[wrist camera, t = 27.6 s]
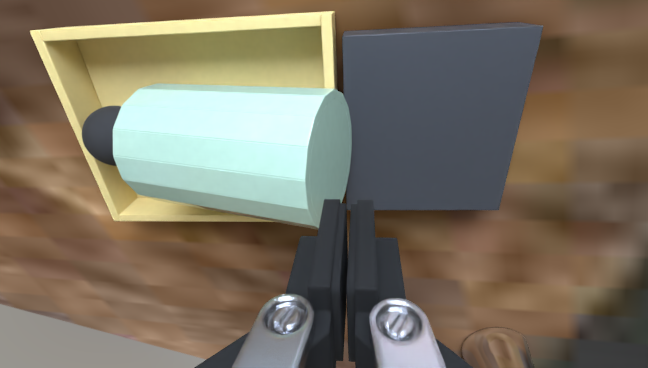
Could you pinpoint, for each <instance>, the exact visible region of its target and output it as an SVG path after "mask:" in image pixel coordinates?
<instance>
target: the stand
mask: <svg viewBox="0 0 648 368" xmlns="http://www.w3.org/2000/svg"><path fill="white" fill-rule="evenodd" d="M542 29H543V26H541V25H534V24H527V23H520V22H509V23H490V24H472V25H453V26H434V27H415V28H396V29H377V30H359V31H344V34H343V36H342V45H343V85H344V98H345V100H346V102H347V105H348V107H349V114H350V120H351V129H352V147H351V148H352V151H351V161H350V171H349V176H348V181H347V186H346V202H347V210H351V204H357V199H366V200H373V204H374V210H499V206H500V202H501V198H502V194H503V190H504V186H505V182H506V178H507V173H508V169H509V165H510V161H511V157H512V153H513V149H514V145H515V141H516V136H517V132H518V128H519V124H520V120H521V116H522V112H523V108H524V103H525V99H526V95H527V91H528V87H529V83H530V79H531V75H532V71H533V66H534V62H535V58H536V54H537V50H538V46H539V42H540V38H541V33H542Z"/></svg>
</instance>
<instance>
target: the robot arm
mask: <svg viewBox="0 0 648 368" xmlns="http://www.w3.org/2000/svg"><path fill="white" fill-rule="evenodd" d="M346 296H347V321H348V354H349V361H351V362H355V367H356V368H473V367H472V366H471V365H469V364H468V363H467V362H465V361H464V360H463V359H462V358H460V357H459V356H458V355H456V354H455V353H454V352H453V351H451V350H450V349H449V348H447V347H446V346H445V345H444V344H442V343H441V342H440V341H438V340H437V339H436V338H435V337H434V334H433V331H432V329H431V326H430V324H429V321H428V319H427V317H426V315H425V313H424V312H423V311H422V310H421V309H420V308H419V307H418V306H417V305H416V304H414V303H412V302H410V301H408V300H406V297H405V290H404V283H403V276H402V269H401V262H400V255H399V248H398V242H397V238H375V223H374V204H373V200H366V199H357V204H351V215H350V233H349V251H348V248H347V209H346V204H345V203H340V199H324V203H323V208H322V214H321V219H320V224H319V229H318V235H317V236H301V237H300V240H299V244H298V248H297V251H296V255H295V259H294V263H293V267H292V271H291V275H290V278H289V282H288V286H287V290H286V294H284V295H279V296H277V297H275V298H273V299H271V300H270V301H268V302H267V303H266V304H265V305H264V306H263V308H262V309H261V311H260V312H259V314H258V316H257V318H256V320H255V322H254V324H253V326H252V328H251V330H250V332H248V333H247V334H245V335H244V336H242V337H241V338H239V339H238V340H236V341H235V342H233V343H232V344H230V345H229V346H227V347H225V348H224V349H222V350H221V351H219V352H218V353H216V354H215V355H213V356H212V357H210V358H209V359H207V360H205V361H204V362H203V363H201V364H199V365H198V366H196V367H195V368H336V361H343V352H344V334H345V315H346Z"/></svg>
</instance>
